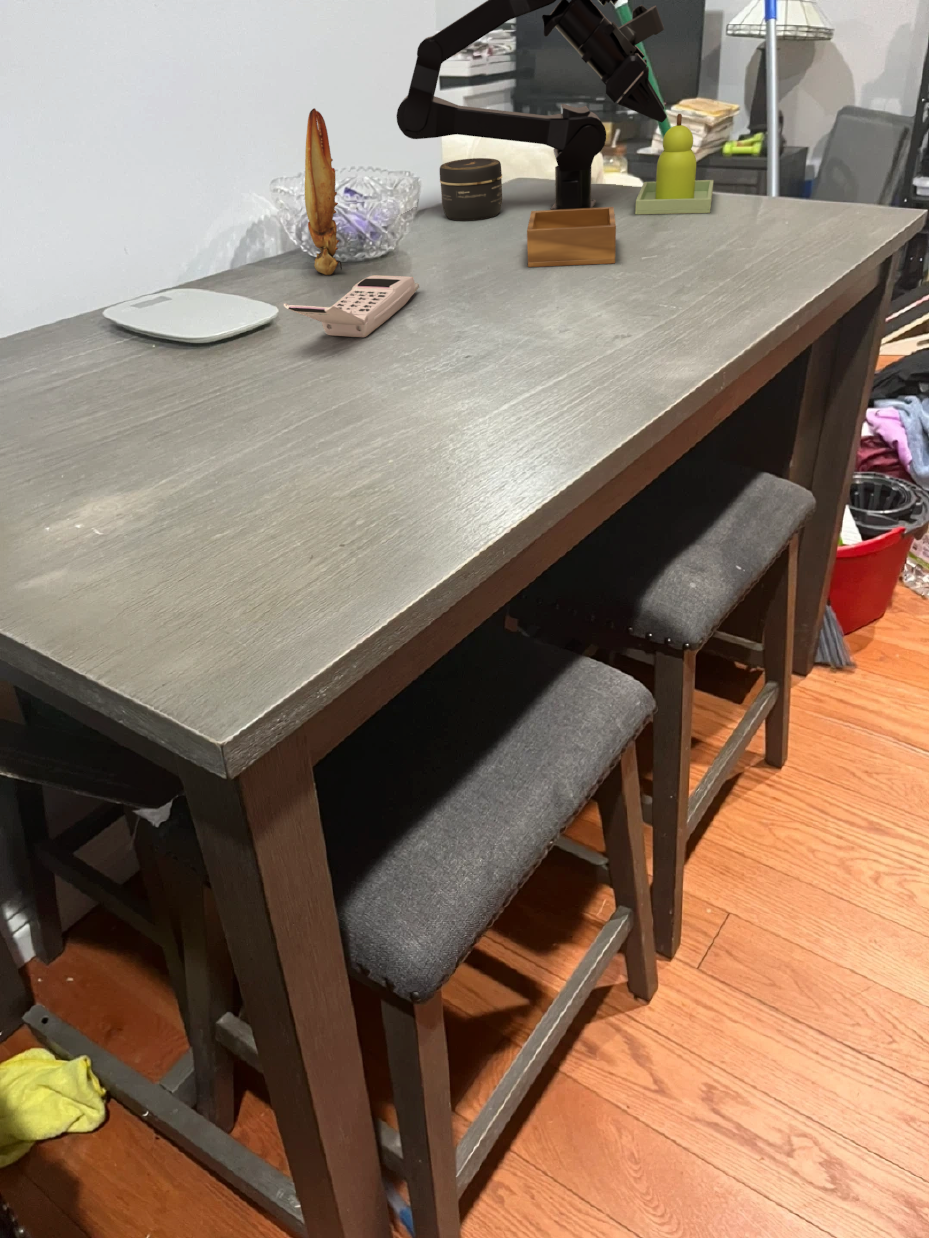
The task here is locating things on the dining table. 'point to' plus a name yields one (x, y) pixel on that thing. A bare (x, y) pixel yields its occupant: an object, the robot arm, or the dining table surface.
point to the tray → (675, 200)
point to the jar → (471, 188)
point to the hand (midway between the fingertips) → (663, 115)
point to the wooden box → (571, 237)
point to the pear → (676, 164)
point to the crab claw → (320, 193)
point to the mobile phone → (362, 306)
